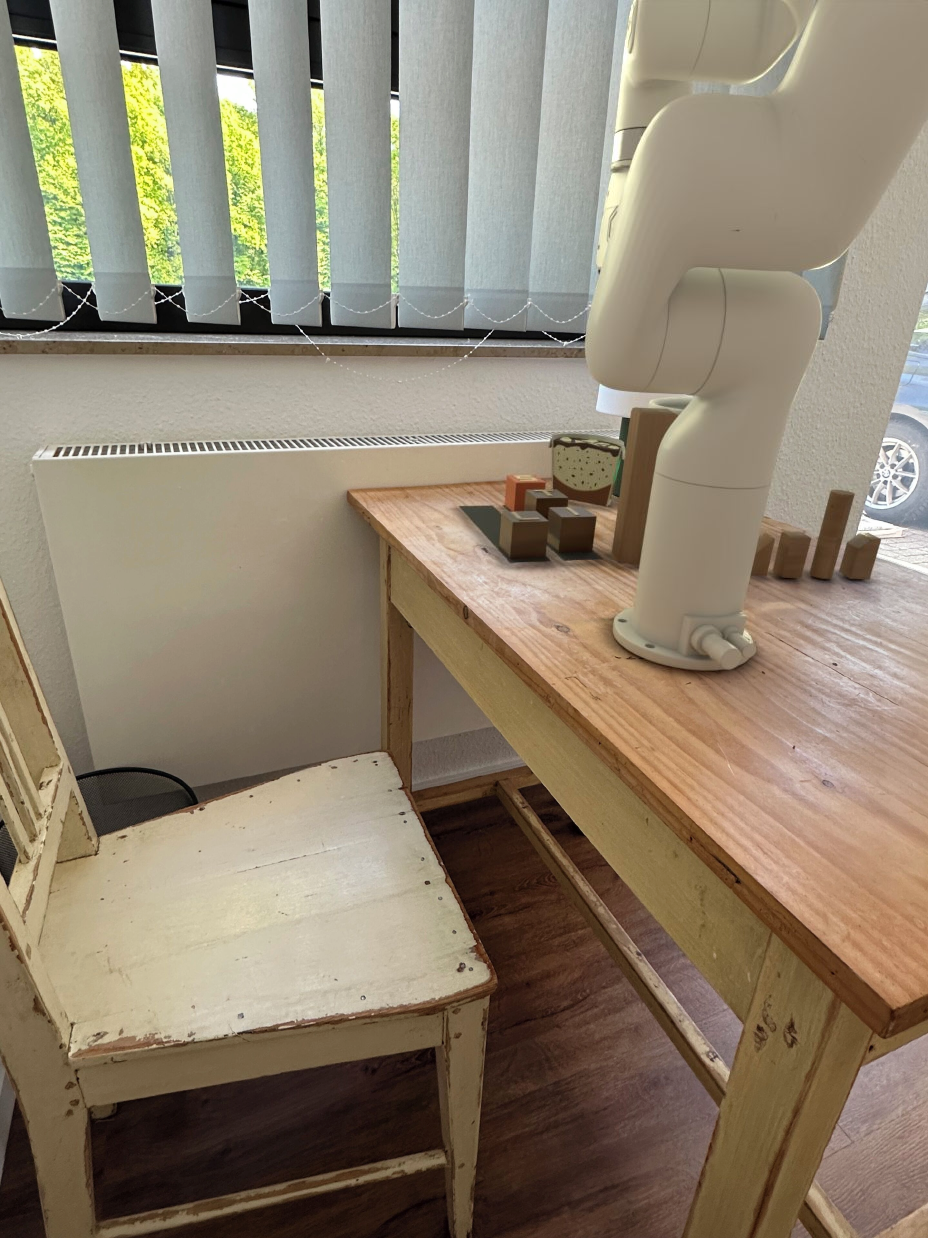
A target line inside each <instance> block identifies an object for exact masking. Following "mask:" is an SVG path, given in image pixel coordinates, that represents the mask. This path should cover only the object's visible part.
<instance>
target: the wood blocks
mask: <svg viewBox="0 0 928 1238" xmlns="http://www.w3.org/2000/svg"><path fill="white" fill-rule="evenodd" d="M854 498H855V493H854V492H853V491H849V490H844V489H831V490H830V492H829V495H828V499H827V503H826V507H825V511H824V514H823V519H822V522H821V526H820V530H819V534H818V537H817V541H816V545H815V549H814V553H813V557H812V561H811V565H810V568H809V575H810V576H812V577H814V578H817V579H823V580H829V579H832V578H833V576H834V572H835V568H836V565H837V561H838V557H839V553H840V549H841V547H842V543H843V539H844V535H845V532H846V528H847V524H848V520H849V516H850V513H851V511H852V507H853V503H854ZM779 537H780V538H779V542H778V544H777V545H778V546H777V550H776V554H775V558H774V562H773V567H772V571H773V573H775V574H776V575H778V577H781V578H782V579H784V578H785V579H787V578H788V579H801V578H802V577H803V573H804V570H805V565H806V562H807V557H808V553H809V549H810V546H811V541H812V538H811V536H809V535H807V534H805V533H804V532H802V531H787V530H785V531H781V533H780V536H779ZM775 541H776V538H775V537H774V536H772V535H770V533H768V532H764V533H762V534H760V535H759V540H758V544H757V549H756V553H755V557H754V562H753V566H752V571H751V575H750V576H768V572H769V567H770V564H771V558H772V554H773V551H774V547H775V546H774V545H775ZM881 542H882V538H880V537H878V536H876V535H874V534H872V533H870V532H859V533H856V535H855V536H853V537H852V538H851V539H849V540H848V541H847V542H846V545H845V547H844V551H843V555H842V558H841V563H840V566H839V568H838V569H839V570H838V572H839V573H840V574H841V575H843V576H845V577H846V578H847V579H849V580H870V579H871V576H872V573H873V569H874V566H875V562H876V559H877V556H878V552H879V549H880V545H881Z"/></svg>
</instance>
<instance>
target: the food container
mask: <svg viewBox="0 0 928 1238" xmlns="http://www.w3.org/2000/svg"><path fill="white" fill-rule="evenodd" d="M547 448H548V449H551V489H556V490H558V491H559V492H561V493H562V494H564V495H565V496H567V497H568V498H569V499H568V501H575V502H580V503H586V504H589V505H590V504H591V505H596V506H601V507H606V508H608V507H610V506H611V502H612V498H613V494H614V489H615V485H616V481H617V476H618V473H619V468H620V466H621V465H620V464H621V461H622V460H623V461H624V459H625V452H626V446H625V442H624V441H623V440H621V439H618V438H616V437H610V436H606V435H600V434H591V433H578V432H577V433H576V432H575V433H574V432H573V433H571V432H570V433H569V432H567V433H554V434H551V438H550V440H549V442H548V446H547Z"/></svg>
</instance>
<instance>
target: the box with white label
mask: <svg viewBox="0 0 928 1238" xmlns="http://www.w3.org/2000/svg"><path fill="white" fill-rule="evenodd" d="M500 513H501V527H500V541H499V547H500V548H501V550H502V551H503V552H504V553H505V554H506V555H507V556H508V557H509V558H510V559H518V558H544V557H546V556H547V555H546V554H547V547H548V546H547V537H548V527H549V521H548V520H547V519H546V518H544V517H543V516H542V515H541V514H539V513H538V512H537V511H513V512H509V511H501V512H500Z"/></svg>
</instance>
